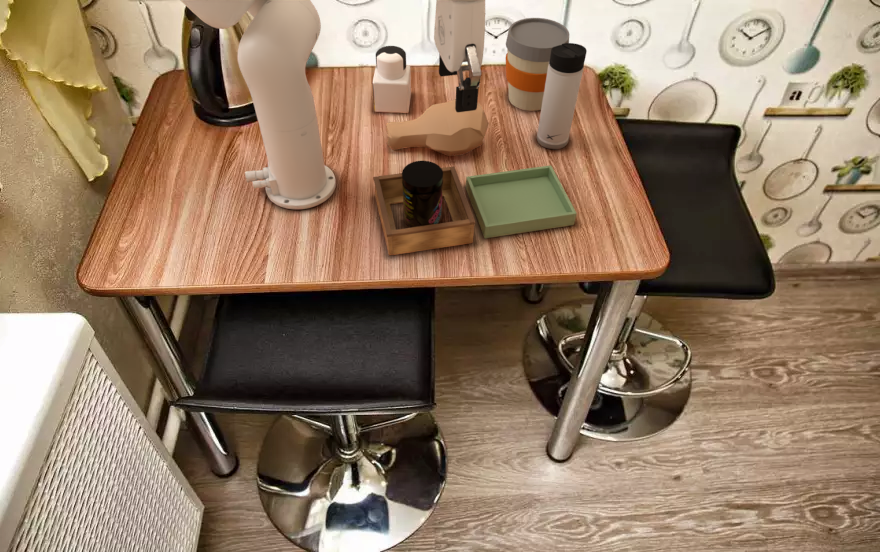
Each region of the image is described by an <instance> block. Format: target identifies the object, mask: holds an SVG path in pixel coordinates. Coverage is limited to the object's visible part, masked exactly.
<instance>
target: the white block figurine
mask: <svg viewBox="0 0 880 552" xmlns="http://www.w3.org/2000/svg"><path fill="white" fill-rule="evenodd" d="M411 72H412V71H411V65H410V64H407V52H406V51H405V50H404V49H403V48H402V47H400V46H396V45H386V46H382V47H380V48H378V49H377V51H375V69H374V73H373V78H372V93H373V108H374V113H393V114H394V113H395V114H409V112H410V104H411V97H412V82H411V81H412V79H411V78H412V77H411V75H412V73H411Z"/></svg>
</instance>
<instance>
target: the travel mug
mask: <svg viewBox="0 0 880 552" xmlns="http://www.w3.org/2000/svg"><path fill="white" fill-rule="evenodd" d="M586 56H587V48H586V46H583V45H582V44H579V43H575V42H569V43H563V44H562V45H558V46H555V47H553V48H552V49H551V54H550V61H549V66H548V71H547V77H546V83H545V89H544V95H543V102H542V108H541V110H540V113H539V114H540V115H539V120H538V128H537V133H536V141H537V143H538V144H539V145H540V146H541V147H543V148H546V149H549V150H560V149H563V148H564V147H566V146H567V145H568V143H569V139H570V134H571V129H572V126H573V120H574V117H575V111H576V107H577V106H576V105H577V101H578V96H579V91H580V86H581V82H582V77H583V73H584V69H585V61H586Z"/></svg>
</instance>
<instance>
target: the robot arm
mask: <svg viewBox="0 0 880 552" xmlns="http://www.w3.org/2000/svg"><path fill="white" fill-rule="evenodd" d="M180 2H181V3H182V4H183V5H184V6H186V7H187V9H189V10H190V11H191V12H192V13H193V14H194V15H195V16H196V17H197V18H199V19H200V20H201V21H202V22H203V23H205V24H207V25H208V26H209V27H211V28H214V29H219V30H225V29H229V28H231V27H233V26H235V25H236V24H237V23H239V22H240V21H241V20H242V18H243V17H244V16H245V15H246V14H247V12H248V13H249V14H250V15H251V16H252V20H251V21H250V23H249V24H248V26H247V27H246V29H245V30H244V32H243V34H242V36H241V38H240V40H239V43H238V46H237V64H238V68H239V70H240V73H241V75H242V78H243V79H244V82H245V84H246V86H247V88H248V91H249V94H250V96H251V100H252V103H253V107H254V110H255V115H256V120H257V121H258V127H259V130H260V134H261V138H262V142H263V146H264V151H265V154H266V159H267V166H265V167H262V169H257V170H255V169H254V170H247V171H245V172H244V176H245V181H246V183H252V188H253V189H254V190H256V189H257V190H258V189H262V188H264V189H265V193H266V196H267V197H268V199H269V200H270V201H271V202H272V203H273V204H274V205H276V206H278V207H280V208H283V209H286V210H287V209H288V210H305V209H311V208H313V207H316V206H319V205H321V204H322V203H324V202H326V201H327V200H328V199H330V198H331V196H332V195H333V194H334V192H335V190H336V186H337V182H336V181H337V180H336V176H335V173H334V171H332V169H331V168H330V167H329V166H327V165H326V164H325V157H324V152H323V147H322V139H321V133H320V127H319V121H318V120H319V119H318V115H317V109H316V103H315V97H314V94H313V91H312V88H311V85H310V84H309V81H308V78H307V75H306V68H307V67H306V66H307V62H308V60H309V58H310V56H311V53H312V52H313V49H314V48H315V45H316V44H317V42H318V40H319V37H320V34H321V29H322V26H321V25H322V23H321V18H320V14H319V13H318V10H317V8H316V6H315V5H314V4H313V2H312V1H311V0H180ZM485 34H486V0H436V1H435V15H434V29H433V41H434V44H435V47H436V50H437V52H438V54H439V55H438V56H439V58H438V59H439V61H438V75H439V77H451V76H456V77H457V83H458V86H455V99H456V101H455V110H456V112H465V111H473V110H476V109H477V103H479V102H478V101H479V90H480V83H481V77H482V70H481V68H482V65H483V60H484V52H485V51H484V50H485V38H486V37H485ZM463 63H467V65H463ZM464 72H468V76H467V77H465V79H464Z"/></svg>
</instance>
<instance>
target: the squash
mask: <svg viewBox="0 0 880 552" xmlns="http://www.w3.org/2000/svg"><path fill="white" fill-rule="evenodd" d="M455 101H456V98H455V99H451V100H449V101H446V102H440V103H436V104H432V105H431V106H429V107H428V108H427V109H425V110H424V112H423V113H422V114H421V115H419V116H418V117H416V118H415V119H410V120H404V121H388V122H387V123H385V131H386V134H387V139H386V145H387V146H388V147H389V148H390V149H391V150H392V151H397V150H401V149H406V148H407V149H408V148H417V147H418V148H426V149H431V150H433V151H435V152H437V153H439V154H442V155H445V156H448V157H452V156H460V155H467V154H469V153H471V152H472V151H473V150H476V149H477V148H479V147H481V146H482V145H484V139H485V137H486V135H487V134H486V133H487V130H488V129H489V128H488V127H489V124H490V123H489V121H488V118H487V116H486V113H485V109H484V108H483V106H482V104H481V103H480V102H477V109H476V110H473V111H465V112H456V110H455Z"/></svg>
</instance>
